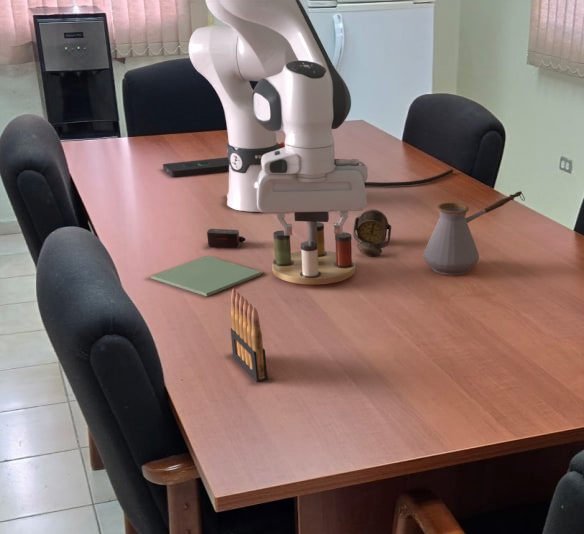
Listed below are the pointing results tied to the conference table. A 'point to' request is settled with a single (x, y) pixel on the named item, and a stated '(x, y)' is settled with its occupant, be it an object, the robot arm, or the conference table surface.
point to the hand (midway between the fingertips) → (313, 234)
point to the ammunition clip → (247, 338)
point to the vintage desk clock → (371, 232)
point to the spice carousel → (329, 263)
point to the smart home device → (197, 167)
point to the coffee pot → (455, 238)
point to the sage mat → (206, 275)
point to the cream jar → (309, 258)
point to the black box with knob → (224, 238)
